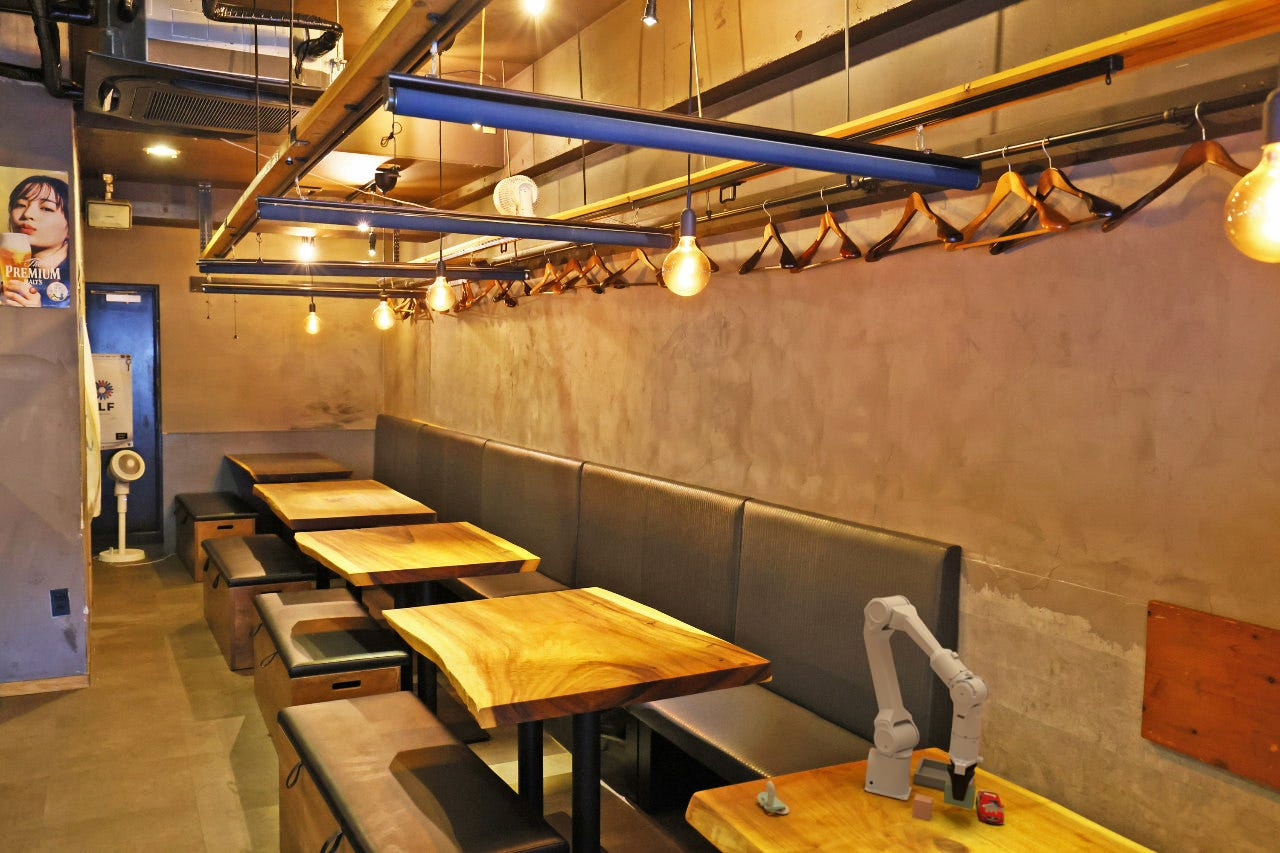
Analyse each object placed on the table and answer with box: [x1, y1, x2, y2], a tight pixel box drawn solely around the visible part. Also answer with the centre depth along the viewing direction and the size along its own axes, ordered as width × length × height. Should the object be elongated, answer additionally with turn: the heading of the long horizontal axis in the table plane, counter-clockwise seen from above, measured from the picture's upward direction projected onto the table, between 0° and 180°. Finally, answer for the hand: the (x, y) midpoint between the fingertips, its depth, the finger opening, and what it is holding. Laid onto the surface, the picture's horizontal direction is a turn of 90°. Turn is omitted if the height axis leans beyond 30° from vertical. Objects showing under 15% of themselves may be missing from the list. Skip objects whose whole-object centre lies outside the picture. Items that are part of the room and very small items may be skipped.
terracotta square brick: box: [912, 793, 934, 822], centre depth 205 cm, size 4×4×4 cm
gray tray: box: [912, 756, 976, 792], centre depth 226 cm, size 13×13×2 cm
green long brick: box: [942, 779, 977, 811], centre depth 205 cm, size 6×4×4 cm, turn 66°
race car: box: [975, 789, 1005, 825], centre depth 210 cm, size 13×5×4 cm, turn 163°
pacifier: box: [757, 780, 790, 815], centre depth 202 cm, size 7×6×6 cm
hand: (959, 796), depth 205 cm, fingers closed on green long brick, 3 cm apart
